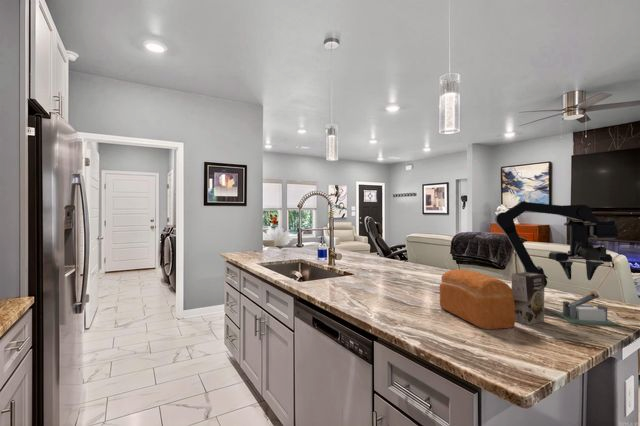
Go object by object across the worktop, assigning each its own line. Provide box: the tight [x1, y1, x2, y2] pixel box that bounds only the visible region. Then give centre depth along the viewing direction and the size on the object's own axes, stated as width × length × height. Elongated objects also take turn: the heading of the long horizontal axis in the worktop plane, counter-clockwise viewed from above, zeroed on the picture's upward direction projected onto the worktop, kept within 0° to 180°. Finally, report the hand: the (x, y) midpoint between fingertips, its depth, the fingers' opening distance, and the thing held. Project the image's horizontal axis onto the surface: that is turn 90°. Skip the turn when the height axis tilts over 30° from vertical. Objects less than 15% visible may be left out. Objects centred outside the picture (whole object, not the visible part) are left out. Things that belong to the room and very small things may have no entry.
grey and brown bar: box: [566, 290, 600, 308], centre depth 114 cm, size 10×2×2 cm, turn 81°
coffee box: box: [511, 271, 546, 326], centre depth 112 cm, size 9×6×16 cm
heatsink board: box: [554, 300, 616, 326], centre depth 114 cm, size 13×10×5 cm
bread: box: [439, 268, 516, 330], centre depth 117 cm, size 14×26×16 cm, turn 11°
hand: (579, 279), depth 122 cm, fingers open, 6 cm apart
